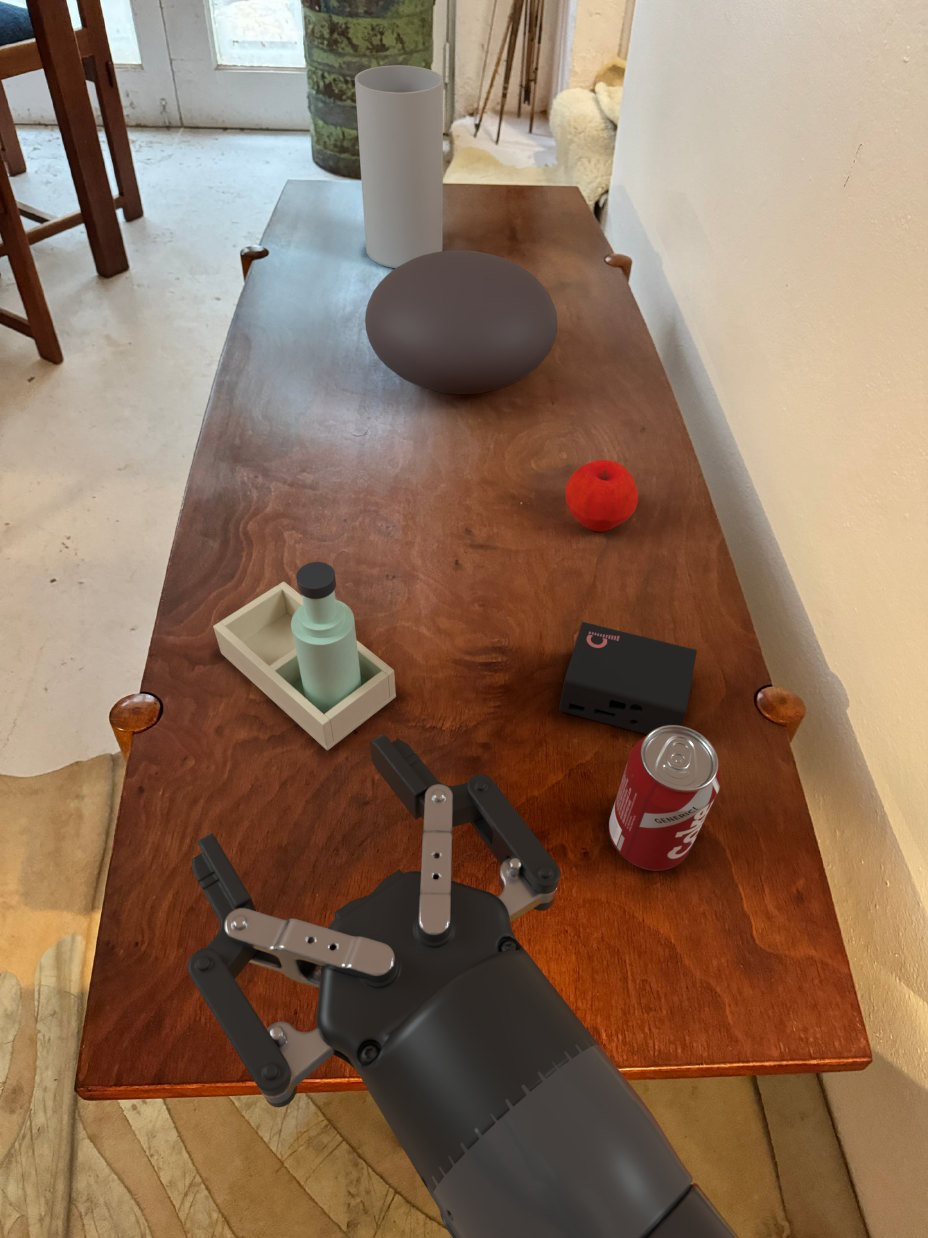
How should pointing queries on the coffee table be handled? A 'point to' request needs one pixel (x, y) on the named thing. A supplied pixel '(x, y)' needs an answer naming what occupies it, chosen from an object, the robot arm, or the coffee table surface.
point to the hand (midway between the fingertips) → (295, 794)
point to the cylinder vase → (401, 161)
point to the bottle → (324, 639)
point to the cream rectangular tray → (297, 666)
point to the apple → (601, 495)
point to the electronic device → (627, 679)
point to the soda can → (664, 797)
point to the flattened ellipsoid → (461, 322)
